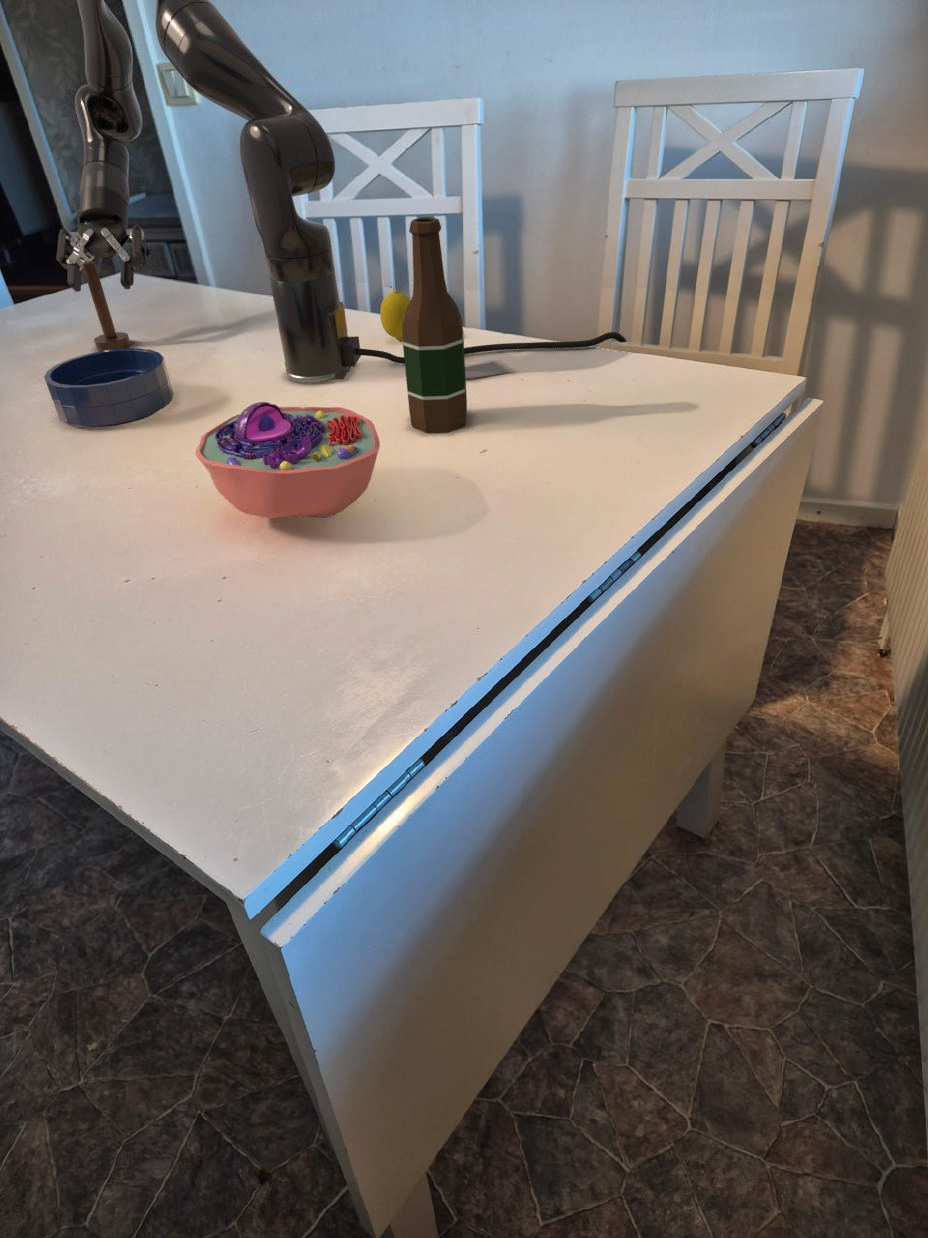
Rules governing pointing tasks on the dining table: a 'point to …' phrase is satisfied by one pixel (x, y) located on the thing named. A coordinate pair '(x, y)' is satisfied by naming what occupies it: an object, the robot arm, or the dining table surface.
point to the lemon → (394, 313)
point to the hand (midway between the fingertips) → (100, 287)
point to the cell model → (291, 459)
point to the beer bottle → (433, 339)
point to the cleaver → (483, 370)
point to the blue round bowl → (110, 387)
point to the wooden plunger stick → (103, 313)
